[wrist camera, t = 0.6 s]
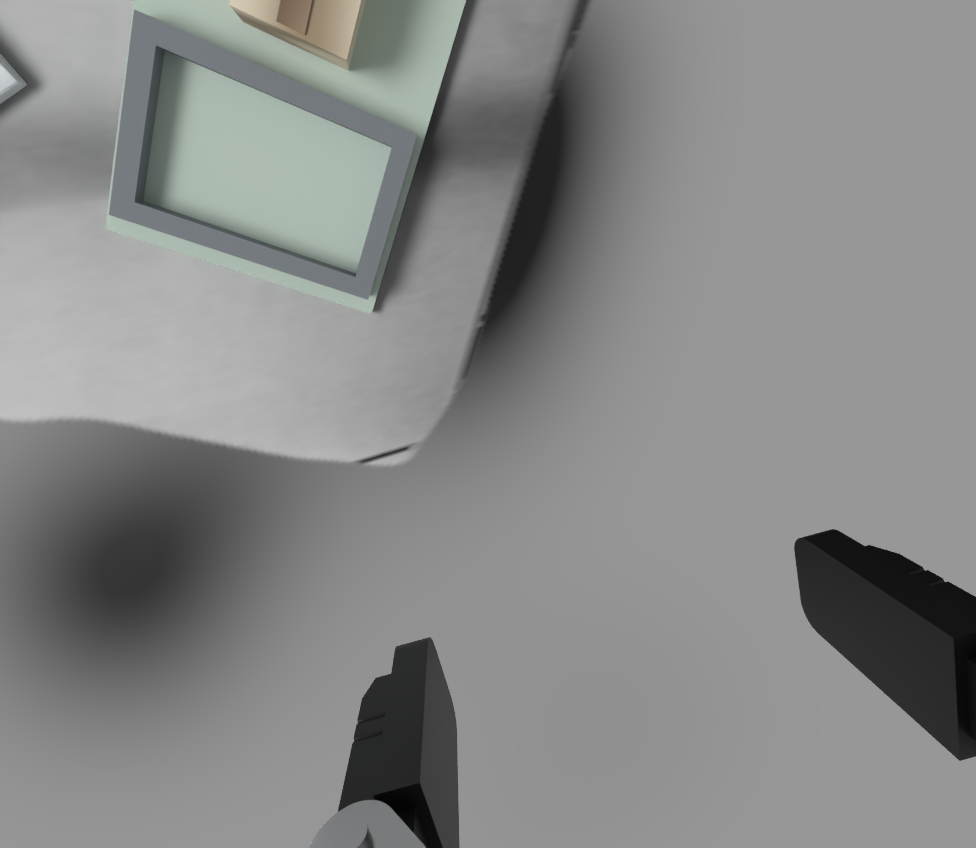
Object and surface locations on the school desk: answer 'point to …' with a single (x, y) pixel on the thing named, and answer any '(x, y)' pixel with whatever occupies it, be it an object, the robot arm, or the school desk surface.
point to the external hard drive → (9, 80)
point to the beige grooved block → (308, 24)
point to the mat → (276, 141)
